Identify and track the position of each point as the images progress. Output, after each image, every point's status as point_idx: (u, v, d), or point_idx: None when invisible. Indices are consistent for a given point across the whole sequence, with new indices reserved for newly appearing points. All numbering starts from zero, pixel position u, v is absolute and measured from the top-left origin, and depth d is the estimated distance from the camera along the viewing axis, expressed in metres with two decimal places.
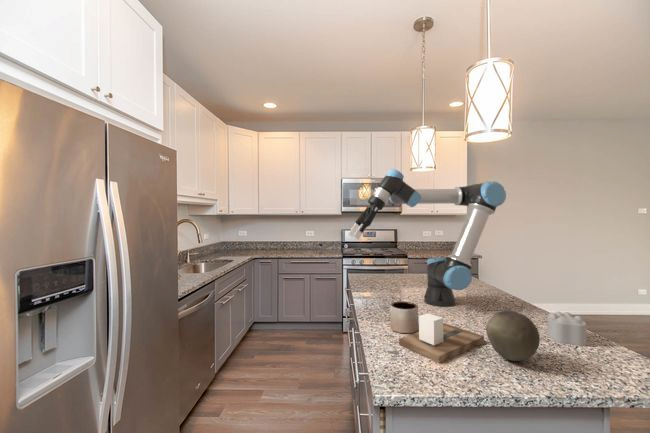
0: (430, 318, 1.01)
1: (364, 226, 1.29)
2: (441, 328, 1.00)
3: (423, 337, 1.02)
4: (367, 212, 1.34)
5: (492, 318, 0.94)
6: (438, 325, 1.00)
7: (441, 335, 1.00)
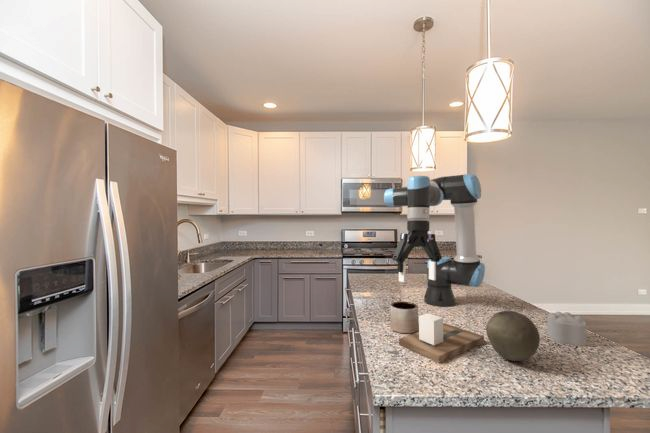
0: (430, 318, 1.01)
1: None
2: (441, 328, 1.00)
3: (423, 337, 1.02)
4: (429, 245, 1.05)
5: (492, 318, 0.94)
6: (438, 325, 1.00)
7: (441, 335, 1.00)
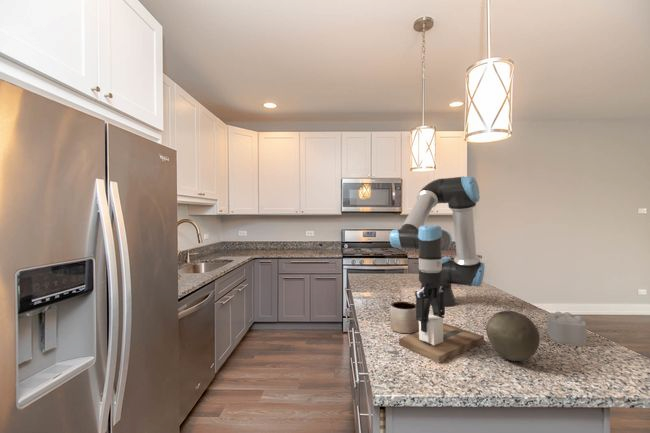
0: (430, 318, 1.01)
1: None
2: (441, 328, 1.00)
3: None
4: (439, 298, 1.02)
5: (492, 318, 0.94)
6: (438, 325, 1.00)
7: (441, 335, 1.00)
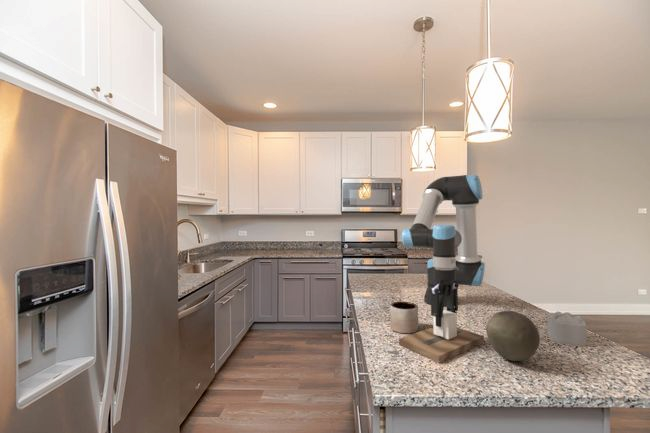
0: (444, 313, 1.05)
1: None
2: (455, 323, 1.05)
3: None
4: (453, 295, 1.07)
5: (492, 318, 0.94)
6: (452, 320, 1.04)
7: (454, 329, 1.05)
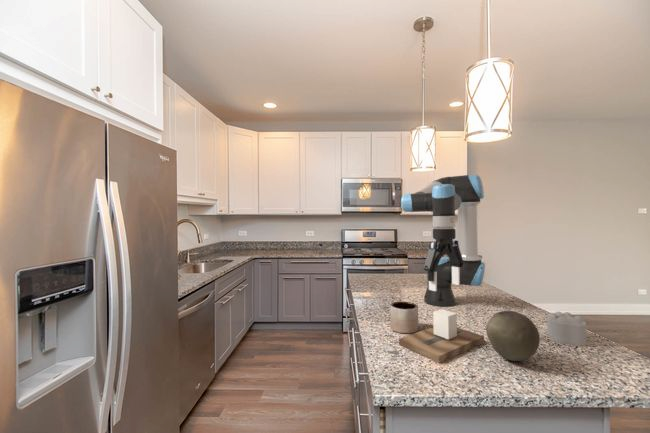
0: (444, 313, 1.05)
1: None
2: (455, 323, 1.05)
3: (437, 331, 1.06)
4: (454, 252, 1.07)
5: (492, 318, 0.94)
6: (452, 320, 1.04)
7: (454, 329, 1.05)
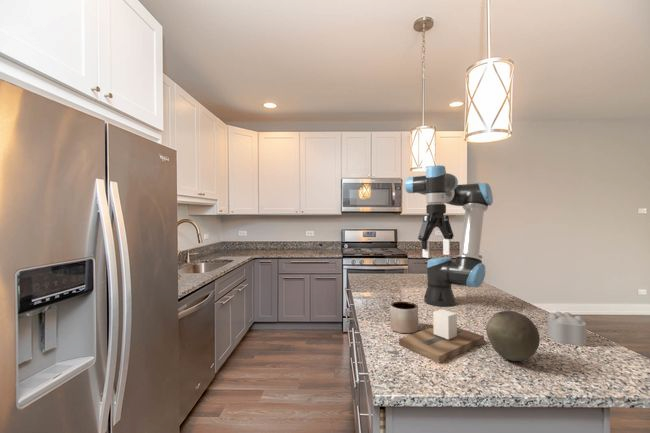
0: (444, 313, 1.05)
1: None
2: (455, 323, 1.05)
3: (437, 331, 1.06)
4: (445, 225, 1.23)
5: (492, 318, 0.94)
6: (452, 320, 1.04)
7: (454, 329, 1.05)
